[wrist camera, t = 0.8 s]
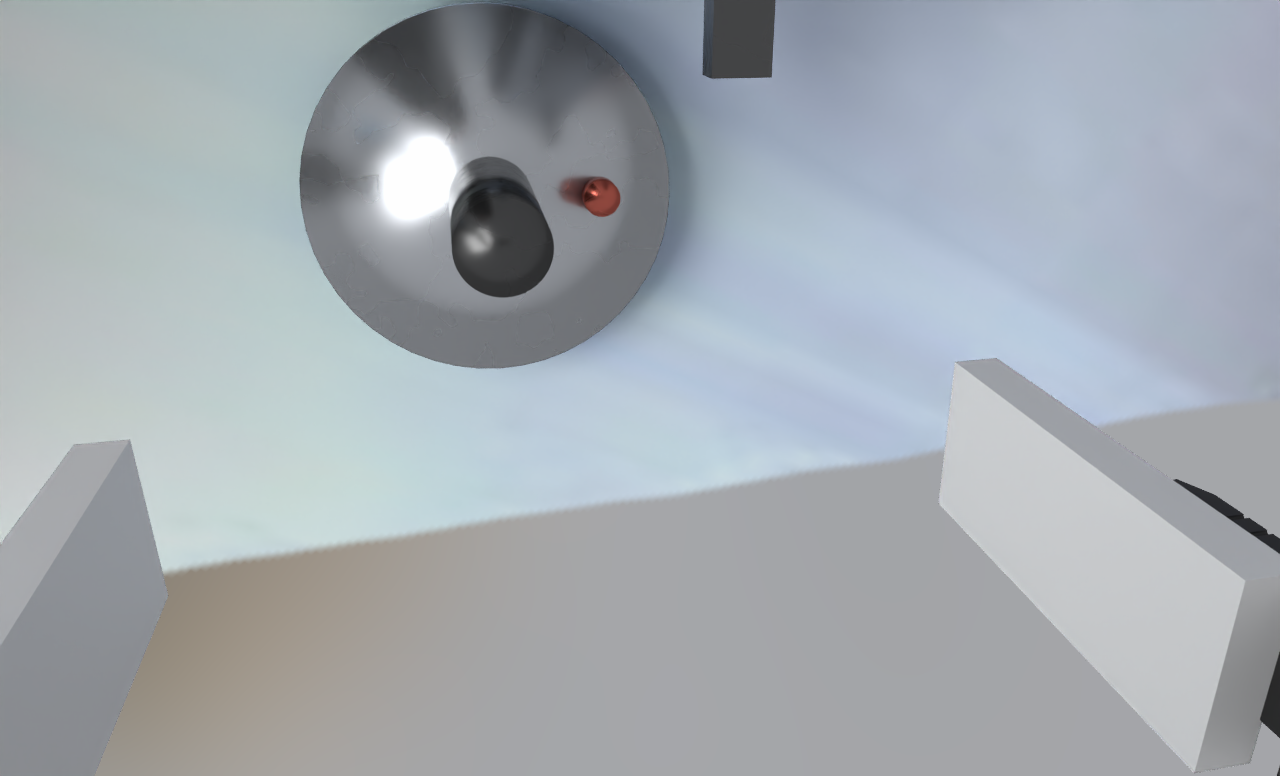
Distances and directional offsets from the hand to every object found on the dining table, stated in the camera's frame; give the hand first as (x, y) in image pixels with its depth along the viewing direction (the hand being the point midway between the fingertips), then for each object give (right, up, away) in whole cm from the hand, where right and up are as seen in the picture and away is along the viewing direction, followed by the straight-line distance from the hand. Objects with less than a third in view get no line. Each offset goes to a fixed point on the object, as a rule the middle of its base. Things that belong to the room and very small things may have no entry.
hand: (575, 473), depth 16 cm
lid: (-5, +10, +24) cm, 27 cm away
